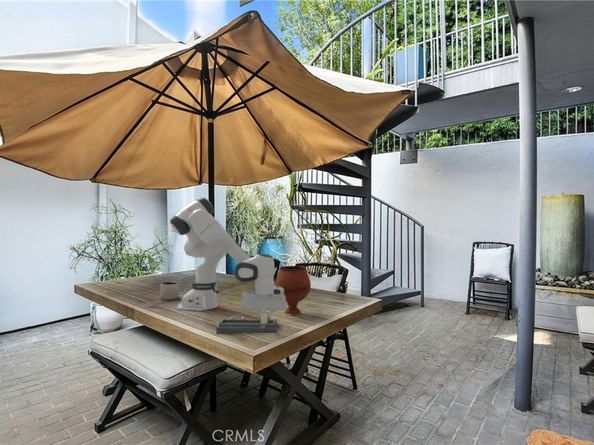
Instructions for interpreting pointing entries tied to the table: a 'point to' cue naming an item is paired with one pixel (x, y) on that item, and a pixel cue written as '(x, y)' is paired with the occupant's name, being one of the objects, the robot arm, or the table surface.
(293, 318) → the table surface
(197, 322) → the table surface
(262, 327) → the console
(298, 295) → the terracotta clay pot
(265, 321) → the fader cap
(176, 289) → the planter
